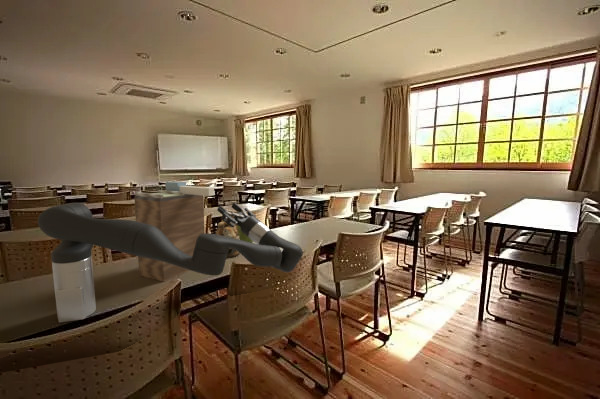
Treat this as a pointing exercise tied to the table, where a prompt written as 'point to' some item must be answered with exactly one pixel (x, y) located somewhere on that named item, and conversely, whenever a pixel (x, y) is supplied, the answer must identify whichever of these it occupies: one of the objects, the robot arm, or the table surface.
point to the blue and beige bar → (189, 189)
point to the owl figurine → (228, 232)
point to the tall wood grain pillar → (170, 226)
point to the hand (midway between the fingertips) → (225, 206)
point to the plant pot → (243, 235)
